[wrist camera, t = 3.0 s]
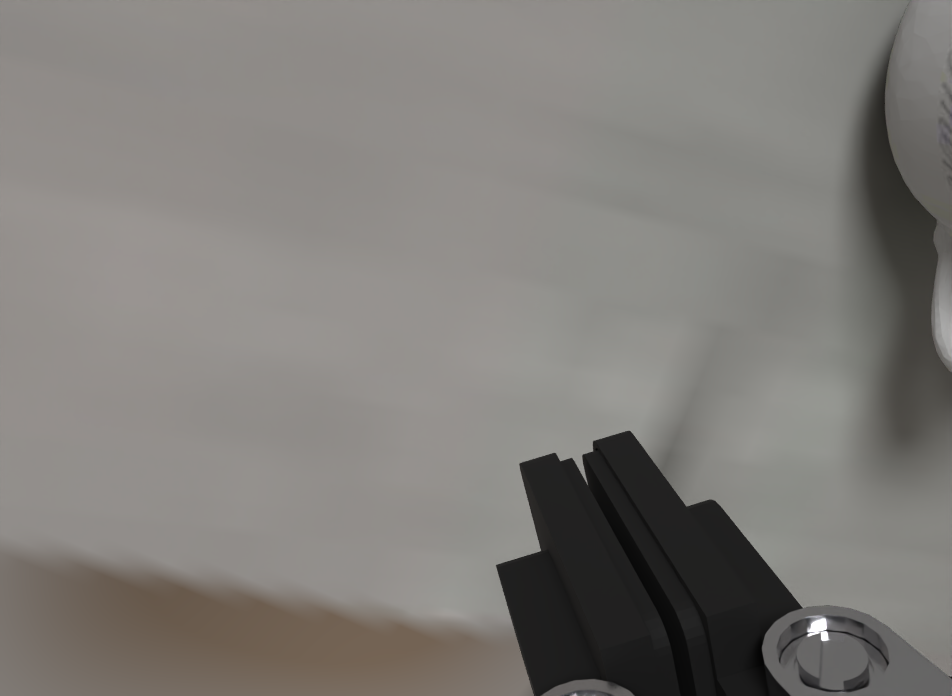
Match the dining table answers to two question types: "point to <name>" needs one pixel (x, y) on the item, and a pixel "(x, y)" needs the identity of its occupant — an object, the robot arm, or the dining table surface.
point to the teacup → (926, 136)
